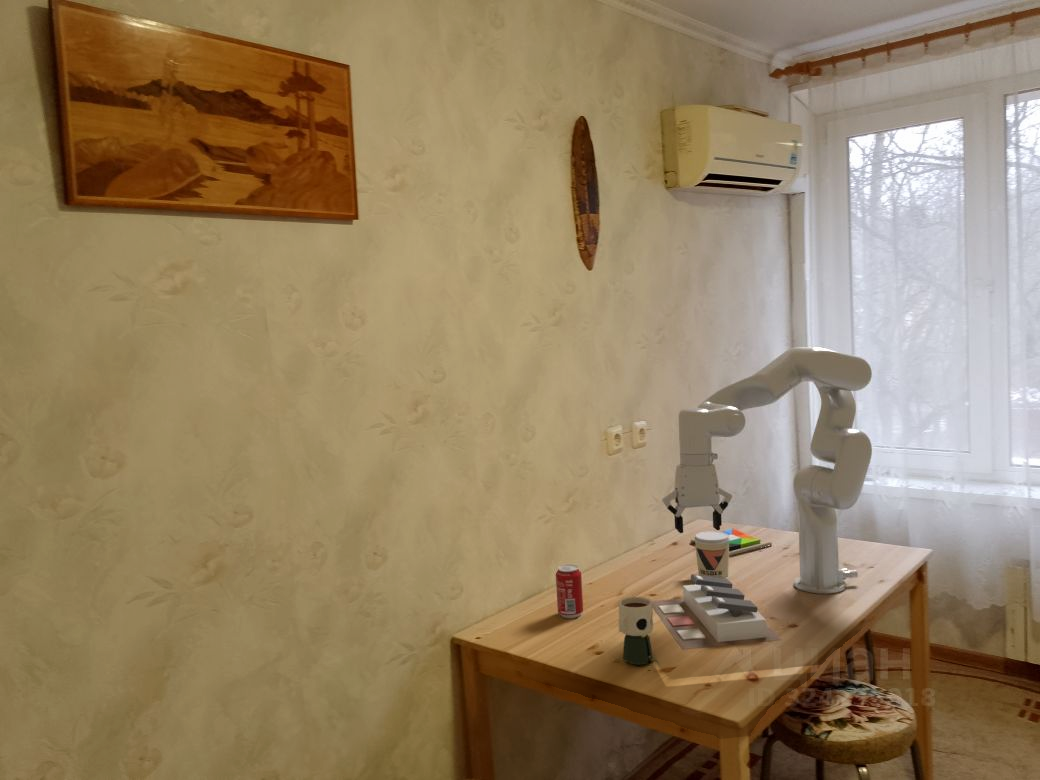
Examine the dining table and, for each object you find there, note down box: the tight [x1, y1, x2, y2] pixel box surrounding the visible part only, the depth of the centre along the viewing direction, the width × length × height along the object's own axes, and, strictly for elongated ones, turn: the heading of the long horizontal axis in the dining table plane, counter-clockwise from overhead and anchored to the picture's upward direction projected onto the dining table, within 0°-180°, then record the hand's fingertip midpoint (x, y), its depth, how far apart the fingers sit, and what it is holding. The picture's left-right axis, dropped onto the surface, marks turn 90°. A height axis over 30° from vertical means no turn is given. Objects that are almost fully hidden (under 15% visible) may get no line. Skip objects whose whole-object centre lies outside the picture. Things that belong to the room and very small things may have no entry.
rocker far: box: [690, 574, 733, 588], centre depth 200 cm, size 9×4×3 cm, turn 95°
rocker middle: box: [701, 585, 746, 600], centre depth 192 cm, size 9×4×3 cm, turn 95°
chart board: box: [651, 597, 782, 650], centre depth 193 cm, size 22×30×2 cm
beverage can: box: [555, 564, 584, 619], centre depth 203 cm, size 6×6×12 cm
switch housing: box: [682, 583, 767, 642], centre depth 193 cm, size 11×26×4 cm, turn 5°
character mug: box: [617, 596, 654, 666], centre depth 174 cm, size 11×7×13 cm, turn 134°
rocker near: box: [711, 596, 758, 617], centre depth 184 cm, size 9×4×3 cm, turn 95°
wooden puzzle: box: [690, 528, 773, 557], centre depth 254 cm, size 18×19×4 cm
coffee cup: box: [693, 530, 730, 578], centre depth 224 cm, size 9×9×12 cm
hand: (698, 530), depth 199 cm, fingers open, 8 cm apart
